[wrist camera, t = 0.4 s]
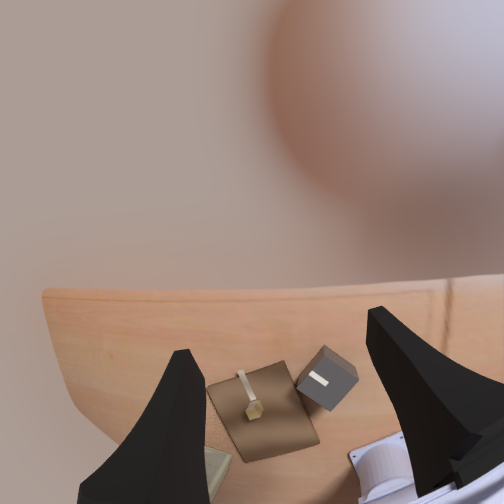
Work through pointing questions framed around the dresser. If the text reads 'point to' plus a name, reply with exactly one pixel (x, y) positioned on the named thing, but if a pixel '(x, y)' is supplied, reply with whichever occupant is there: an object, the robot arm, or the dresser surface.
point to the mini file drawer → (327, 378)
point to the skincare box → (215, 469)
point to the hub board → (264, 413)
